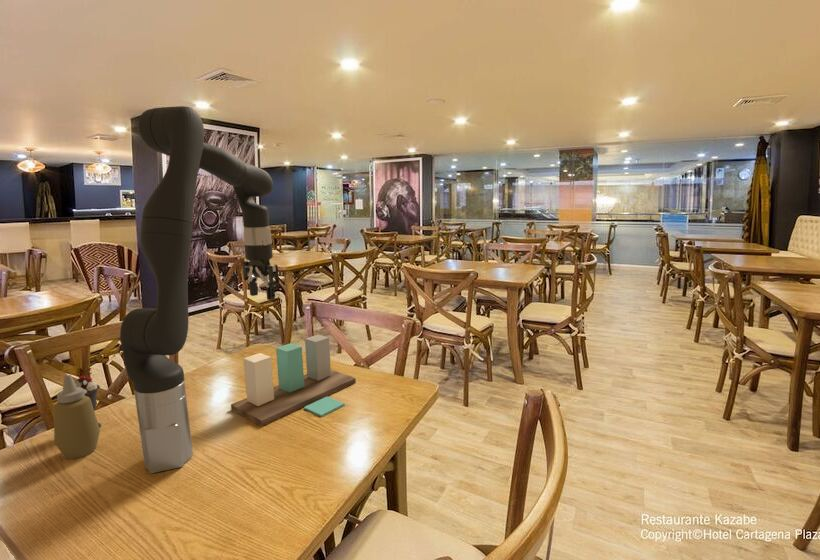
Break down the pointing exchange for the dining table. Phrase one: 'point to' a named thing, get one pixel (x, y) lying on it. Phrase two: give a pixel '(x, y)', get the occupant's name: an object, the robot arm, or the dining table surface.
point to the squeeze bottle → (74, 421)
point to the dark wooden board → (292, 398)
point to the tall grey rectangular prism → (317, 357)
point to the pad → (324, 406)
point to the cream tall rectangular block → (258, 379)
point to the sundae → (88, 388)
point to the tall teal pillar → (290, 367)
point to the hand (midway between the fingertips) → (262, 297)
